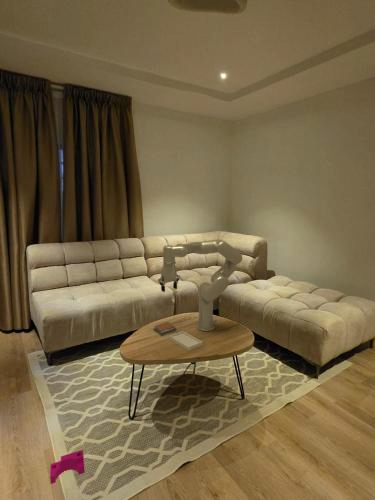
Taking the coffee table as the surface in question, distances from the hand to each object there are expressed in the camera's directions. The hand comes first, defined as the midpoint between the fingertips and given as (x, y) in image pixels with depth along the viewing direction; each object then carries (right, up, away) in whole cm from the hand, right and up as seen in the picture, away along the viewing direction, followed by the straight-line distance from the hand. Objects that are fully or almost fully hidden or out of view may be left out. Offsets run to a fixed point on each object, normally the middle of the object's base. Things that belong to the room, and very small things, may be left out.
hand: (169, 290), depth 196 cm
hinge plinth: (-3, -28, +4) cm, 28 cm away
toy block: (-48, -78, -48) cm, 103 cm away
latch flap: (-3, -26, +4) cm, 26 cm away
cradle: (+11, -31, -11) cm, 34 cm away
